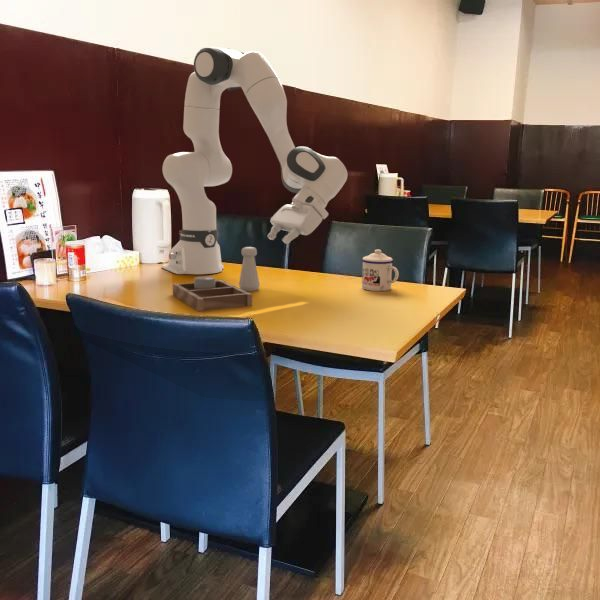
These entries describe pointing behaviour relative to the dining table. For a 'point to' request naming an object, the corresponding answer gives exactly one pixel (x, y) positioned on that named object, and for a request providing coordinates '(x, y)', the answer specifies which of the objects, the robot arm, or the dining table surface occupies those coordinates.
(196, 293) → the brown wooden divided tray
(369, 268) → the teacup with lid
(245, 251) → the salt shaker
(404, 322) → the dining table surface
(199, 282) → the gray block
